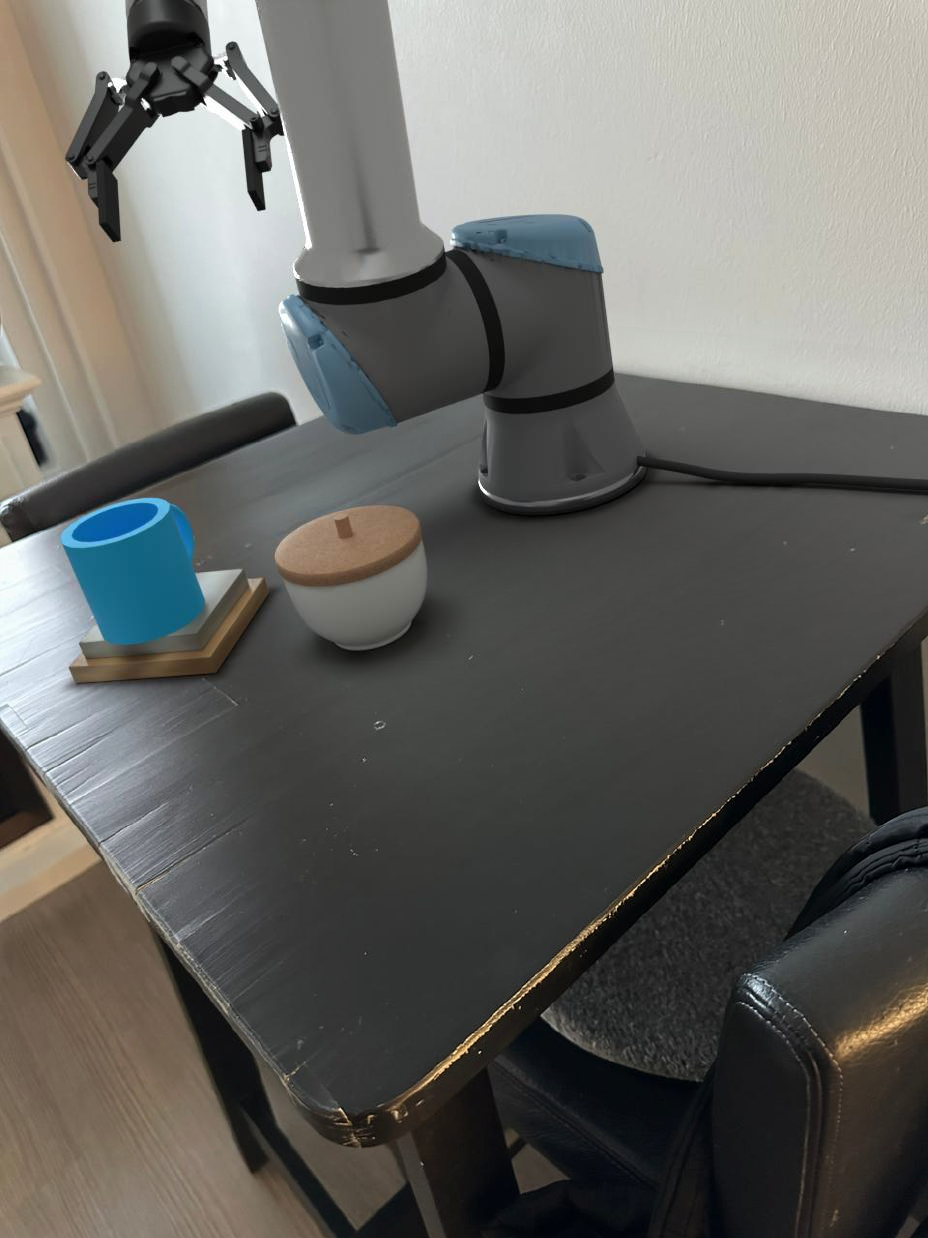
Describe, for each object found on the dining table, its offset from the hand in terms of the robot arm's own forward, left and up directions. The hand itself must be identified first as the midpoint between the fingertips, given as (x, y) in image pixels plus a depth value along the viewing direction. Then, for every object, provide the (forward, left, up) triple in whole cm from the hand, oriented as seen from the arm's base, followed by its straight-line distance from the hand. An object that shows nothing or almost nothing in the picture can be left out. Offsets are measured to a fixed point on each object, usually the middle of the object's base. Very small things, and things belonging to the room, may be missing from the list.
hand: (182, 217), depth 91 cm
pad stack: (-12, +23, -28) cm, 38 cm away
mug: (-12, +23, -25) cm, 36 cm away
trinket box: (-28, +17, -28) cm, 43 cm away
